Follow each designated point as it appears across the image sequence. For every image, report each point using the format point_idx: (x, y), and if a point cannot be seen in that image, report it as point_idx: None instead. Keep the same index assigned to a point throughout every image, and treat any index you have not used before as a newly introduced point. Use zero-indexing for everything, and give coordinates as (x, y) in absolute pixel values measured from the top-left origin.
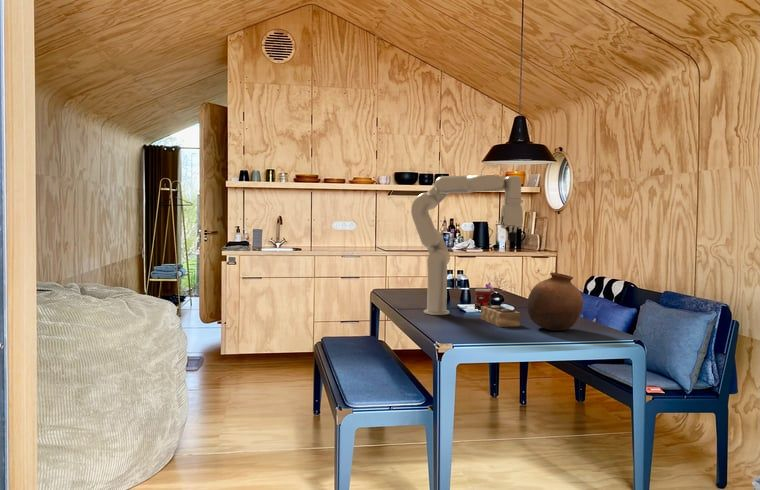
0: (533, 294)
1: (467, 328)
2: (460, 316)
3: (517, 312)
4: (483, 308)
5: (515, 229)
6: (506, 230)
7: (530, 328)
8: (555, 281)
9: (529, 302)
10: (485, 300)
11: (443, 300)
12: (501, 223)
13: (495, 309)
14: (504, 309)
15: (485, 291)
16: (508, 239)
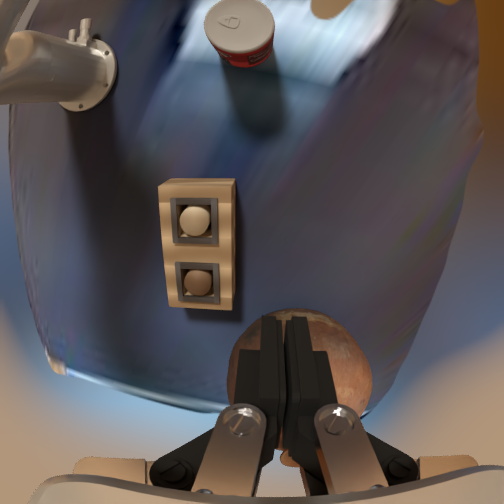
0: (229, 399)
1: (100, 283)
2: (128, 129)
3: (225, 305)
4: (160, 204)
5: (323, 490)
6: (196, 439)
7: (246, 318)
8: (280, 448)
9: (228, 372)
10: (238, 60)
11: (69, 97)
12: (60, 499)
13: (174, 263)
14: (199, 276)
15: (233, 52)
16: (261, 327)
